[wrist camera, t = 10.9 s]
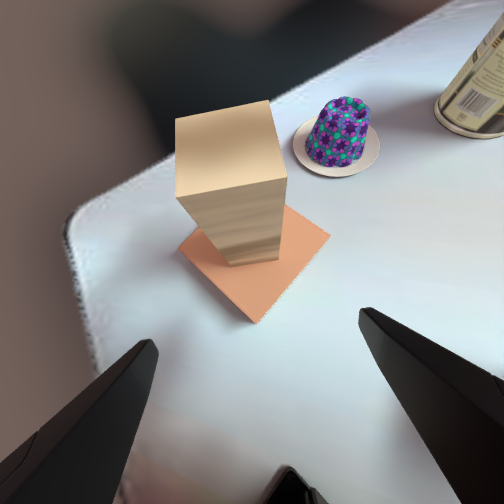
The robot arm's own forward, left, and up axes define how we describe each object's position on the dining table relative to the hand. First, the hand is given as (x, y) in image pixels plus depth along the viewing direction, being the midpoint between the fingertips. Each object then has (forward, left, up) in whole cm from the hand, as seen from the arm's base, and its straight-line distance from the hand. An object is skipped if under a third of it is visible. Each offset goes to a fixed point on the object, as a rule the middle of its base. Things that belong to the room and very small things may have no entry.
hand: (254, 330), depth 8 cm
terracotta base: (+5, +7, -14) cm, 16 cm away
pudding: (+25, +9, -14) cm, 30 cm away
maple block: (+5, +7, -11) cm, 13 cm away
